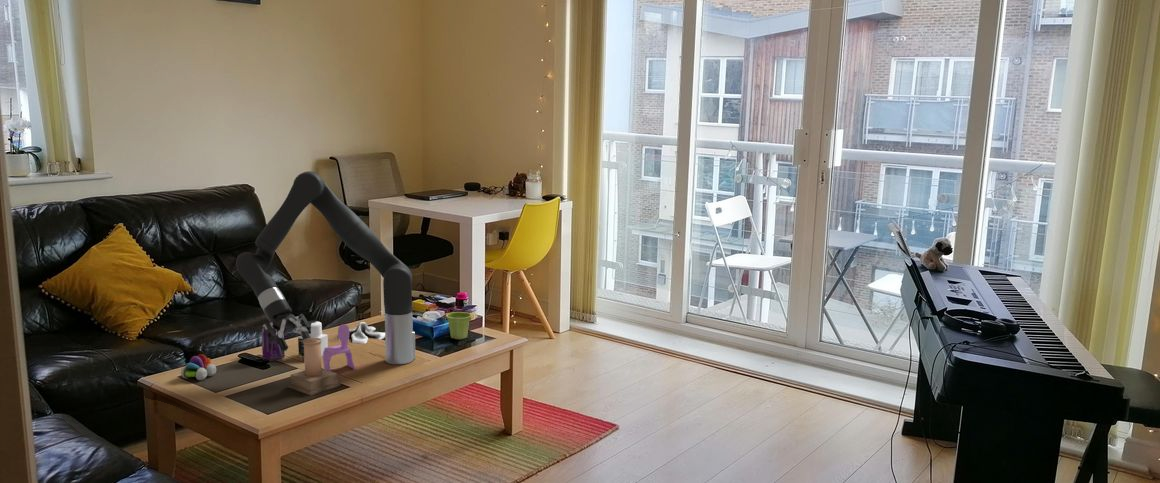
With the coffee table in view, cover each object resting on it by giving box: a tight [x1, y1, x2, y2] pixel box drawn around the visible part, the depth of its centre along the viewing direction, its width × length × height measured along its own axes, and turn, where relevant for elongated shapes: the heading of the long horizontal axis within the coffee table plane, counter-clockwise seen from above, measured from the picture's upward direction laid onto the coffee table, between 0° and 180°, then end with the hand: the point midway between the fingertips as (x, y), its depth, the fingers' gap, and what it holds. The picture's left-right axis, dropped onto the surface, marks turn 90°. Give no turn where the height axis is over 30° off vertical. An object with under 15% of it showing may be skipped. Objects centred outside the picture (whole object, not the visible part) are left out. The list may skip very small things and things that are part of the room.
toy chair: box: [322, 323, 356, 371], centre depth 282 cm, size 8×9×15 cm
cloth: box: [338, 321, 385, 345], centre depth 321 cm, size 22×19×6 cm
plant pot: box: [445, 311, 472, 340], centre depth 322 cm, size 9×9×9 cm
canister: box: [303, 338, 323, 377], centre depth 266 cm, size 5×5×11 cm
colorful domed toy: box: [180, 353, 217, 381], centre depth 274 cm, size 8×10×7 cm
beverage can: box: [261, 323, 286, 362], centre depth 292 cm, size 7×7×12 cm
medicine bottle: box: [297, 320, 329, 359], centre depth 297 cm, size 7×7×12 cm
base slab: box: [287, 368, 342, 396], centre depth 267 cm, size 11×11×4 cm
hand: (298, 346), depth 270 cm, fingers open, 8 cm apart
